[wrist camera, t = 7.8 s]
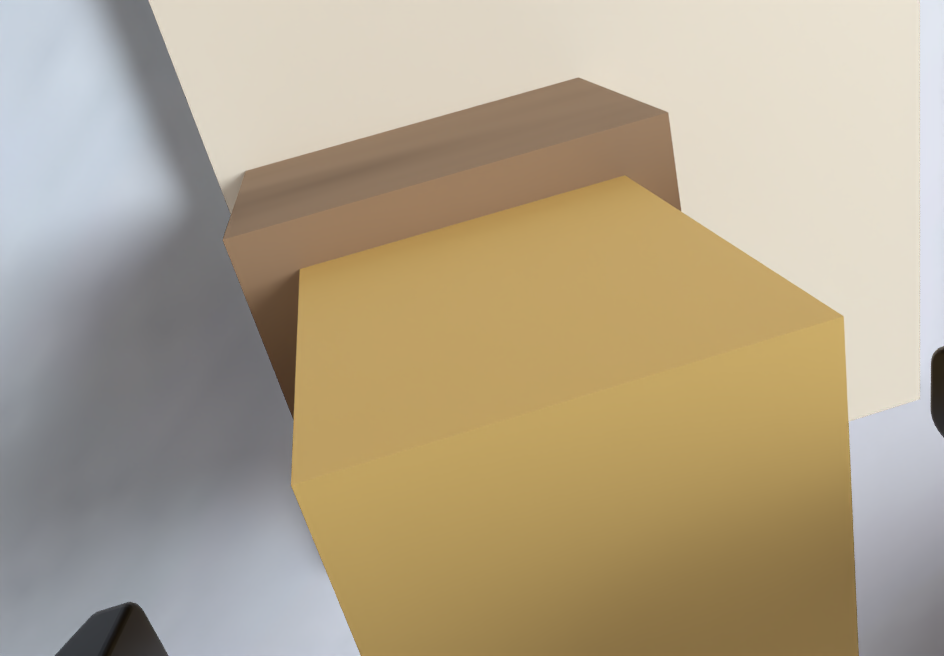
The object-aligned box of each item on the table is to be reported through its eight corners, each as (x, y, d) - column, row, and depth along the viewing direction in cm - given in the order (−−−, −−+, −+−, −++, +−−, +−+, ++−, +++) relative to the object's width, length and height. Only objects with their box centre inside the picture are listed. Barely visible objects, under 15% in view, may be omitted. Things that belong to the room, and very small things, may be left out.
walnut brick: (630, 369, 17) (716, 476, 13) (349, 454, 17) (360, 589, 13) (579, 77, 14) (668, 111, 11) (245, 171, 14) (222, 239, 10)
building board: (896, 383, 19) (920, 398, 19) (366, 550, 18) (368, 573, 18) (886, -420, 13) (919, -442, 12) (73, -220, 12) (59, -232, 11)
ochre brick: (668, 447, 13) (860, 704, 8) (393, 533, 13) (438, 847, 8) (624, 175, 11) (844, 316, 6) (299, 269, 11) (290, 484, 6)
